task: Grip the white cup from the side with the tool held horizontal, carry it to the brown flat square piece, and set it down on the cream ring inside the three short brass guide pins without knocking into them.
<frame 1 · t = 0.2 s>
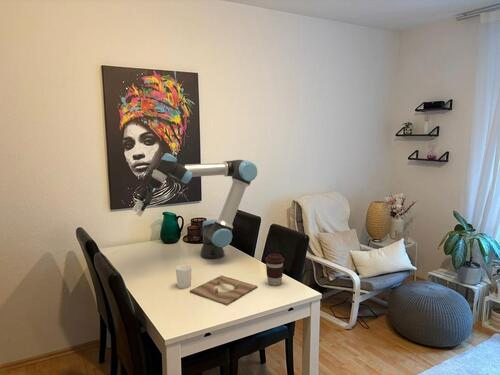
hand: (136, 213, 201), 35 cm above the table, tool tilted 35°, fingers open, 13 cm apart
coffee cup: (274, 283, 195), on the table
brown flat square piece: (224, 290, 187), on the table
white cup: (184, 286, 192), on the table
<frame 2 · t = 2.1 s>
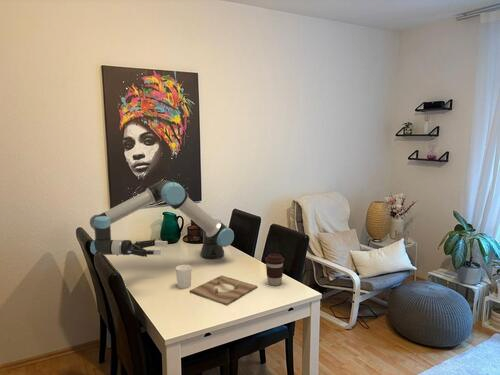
hand: (164, 247, 189), 20 cm above the table, tool horizontal, fingers open, 13 cm apart
nothing on the table moved.
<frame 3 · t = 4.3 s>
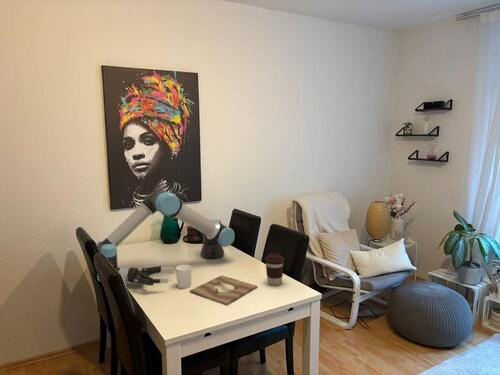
hand: (170, 275, 191), 6 cm above the table, tool horizontal, fingers open, 13 cm apart
nothing on the table moved.
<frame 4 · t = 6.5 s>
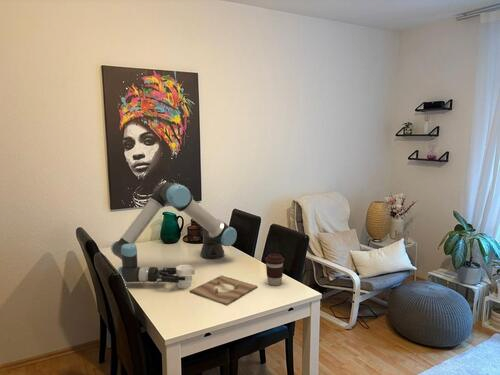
hand: (193, 274, 191), 6 cm above the table, tool horizontal, fingers closed on white cup, 8 cm apart
white cup: (184, 286, 192), on the table, touching gripper
everything else where it was.
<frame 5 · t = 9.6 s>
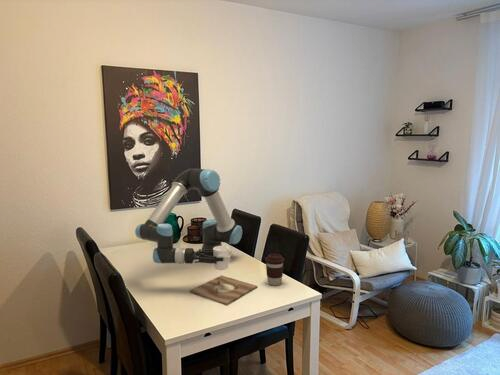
hand: (231, 256, 184), 18 cm above the table, tool horizontal, fingers closed on white cup, 8 cm apart
white cup: (221, 268, 185), point 12 cm above the table, touching gripper
everything else where it was.
when the fingers open (8 cm above the table, at t = 12.4 s): white cup drops 1 cm, resting on brown flat square piece.
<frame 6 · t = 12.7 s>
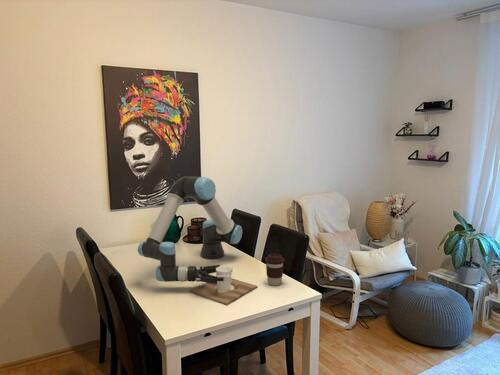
hand: (231, 273, 185), 8 cm above the table, tool horizontal, fingers open, 11 cm apart
white cup: (223, 288, 187), point 1 cm above the table, touching brown flat square piece
everything else where it was.
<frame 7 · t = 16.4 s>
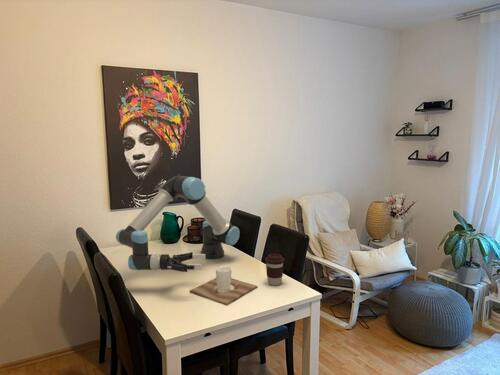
hand: (203, 261, 184), 15 cm above the table, tool horizontal, fingers open, 13 cm apart
nothing on the table moved.
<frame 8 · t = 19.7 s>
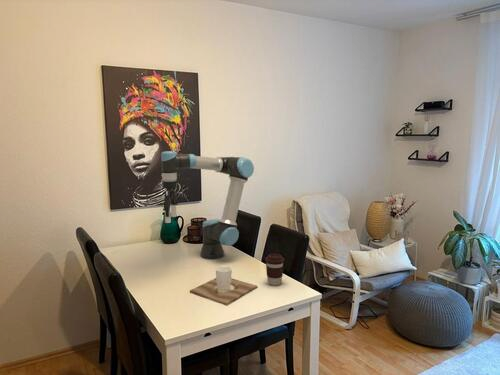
hand: (171, 219, 201), 32 cm above the table, tool pointing down, fingers open, 13 cm apart
nothing on the table moved.
at the end: white cup 0.1 cm off-centre on the brown flat square piece, point 0.9 cm above the brown flat square piece's base; white cup tilted 0°; the gripper is holding nothing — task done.
